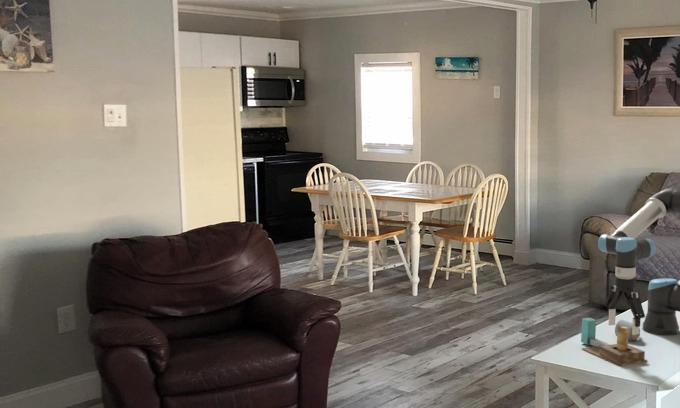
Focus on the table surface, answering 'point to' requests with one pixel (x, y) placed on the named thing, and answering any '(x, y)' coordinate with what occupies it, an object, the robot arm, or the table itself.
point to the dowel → (622, 339)
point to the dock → (618, 354)
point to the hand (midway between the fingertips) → (623, 329)
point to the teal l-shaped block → (590, 333)
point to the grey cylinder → (629, 325)
